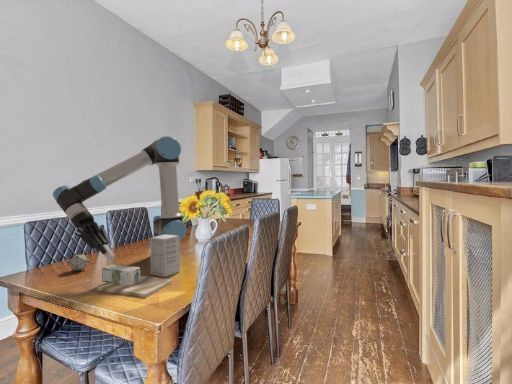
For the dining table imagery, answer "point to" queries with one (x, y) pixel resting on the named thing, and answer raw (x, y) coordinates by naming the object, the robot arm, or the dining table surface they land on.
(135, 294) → the cutting board
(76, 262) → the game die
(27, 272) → the dining table surface
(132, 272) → the syrup box
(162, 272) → the supplement box
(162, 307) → the dining table surface
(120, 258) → the dining table surface
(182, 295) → the dining table surface
